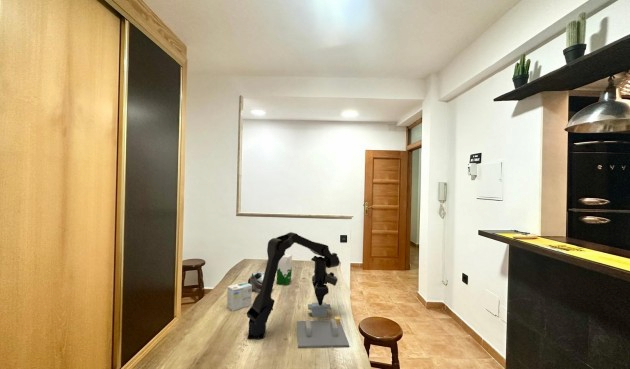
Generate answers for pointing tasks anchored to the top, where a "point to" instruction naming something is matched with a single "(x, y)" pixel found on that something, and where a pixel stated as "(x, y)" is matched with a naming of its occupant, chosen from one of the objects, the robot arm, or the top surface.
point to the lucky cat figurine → (256, 281)
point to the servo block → (319, 309)
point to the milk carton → (284, 270)
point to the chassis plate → (321, 334)
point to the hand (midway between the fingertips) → (319, 301)
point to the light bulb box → (239, 296)
